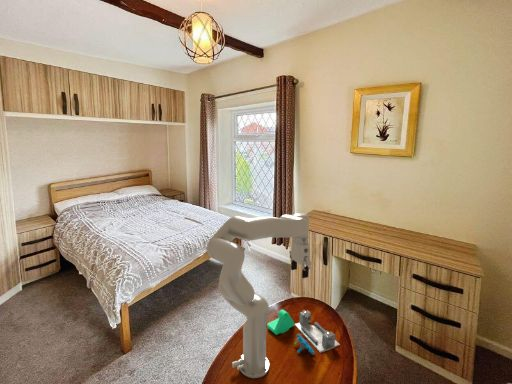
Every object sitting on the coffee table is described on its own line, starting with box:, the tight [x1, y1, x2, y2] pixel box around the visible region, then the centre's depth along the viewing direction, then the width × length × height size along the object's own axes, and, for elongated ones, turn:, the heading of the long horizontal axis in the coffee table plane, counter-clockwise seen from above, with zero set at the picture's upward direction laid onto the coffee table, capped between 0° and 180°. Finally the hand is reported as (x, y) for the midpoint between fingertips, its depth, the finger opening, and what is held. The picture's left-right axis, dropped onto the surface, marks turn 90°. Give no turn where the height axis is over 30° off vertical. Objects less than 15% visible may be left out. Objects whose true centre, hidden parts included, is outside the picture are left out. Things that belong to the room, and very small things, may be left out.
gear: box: [293, 333, 315, 355], centre depth 117 cm, size 11×6×10 cm
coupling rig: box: [294, 309, 340, 354], centre depth 128 cm, size 11×21×7 cm, turn 24°
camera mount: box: [266, 309, 295, 336], centre depth 133 cm, size 12×8×10 cm, turn 126°
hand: (299, 273), depth 128 cm, fingers open, 9 cm apart
